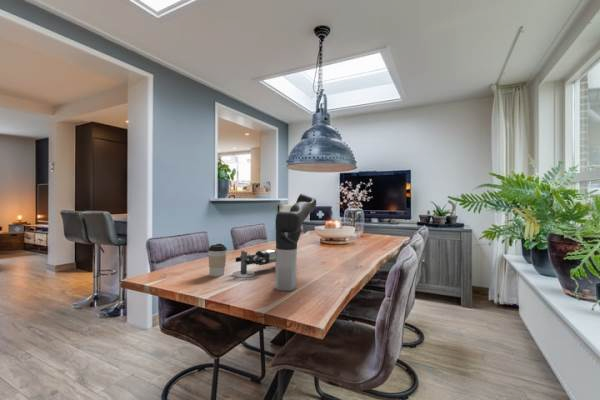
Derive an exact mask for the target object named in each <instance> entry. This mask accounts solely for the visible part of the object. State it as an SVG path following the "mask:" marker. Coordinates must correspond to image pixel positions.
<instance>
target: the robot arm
mask: <svg viewBox="0 0 600 400" xmlns="http://www.w3.org/2000/svg"><path fill="white" fill-rule="evenodd" d="M316 207H317V199H316V198H315V197H313V196H310V195H307V194H305V193H300V194H299V195H298V197H297V199H296V202H295V203H294V204H293V205H292V206H291V207H290V209H289V211H278V212H277V213H276V216H275V221H274V223H275V225H274V226H275V248H273V249H263V250H257V251H256V252H255V254H250V253H249V254H248V253H247V260H246V265H247V266H248V265H256V266H264V265H268V264H269V265H270V264H272V263H275V269H274V272H275V273H274V274H275V276H274V288H275V289H276V291H282V292H283V291H284V292H285V291H286V292H288V291H289V292H291V291H294V290H295V289H296V288H297V266H298V265H297V262H298V260H297V259H298V257H297V255H298V242H299V239H300V237H301V233H302V228H301V227H302V225H303V223H304V222H305V221H306V219H307V218H308V216H309V215H310V214H312V213H313V212H314V210H315V209H316ZM286 234H287V235H286ZM235 262H236V263H239V262H240V263H241V255H240V256H238V257H235Z"/></svg>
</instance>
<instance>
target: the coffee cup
mask: <svg viewBox="0 0 600 400" xmlns="http://www.w3.org/2000/svg"><path fill="white" fill-rule="evenodd" d="M227 250H228V248H227V247H226V245H224V244H222V243H216V244H211V245H210V246H209V247H208V249H207V251H208V254H207V255H208V267H209V276H210V277H215V278H216V277H223V276H224V275H225V267H226V260H227Z"/></svg>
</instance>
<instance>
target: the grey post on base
mask: <svg viewBox="0 0 600 400" xmlns="http://www.w3.org/2000/svg"><path fill="white" fill-rule="evenodd" d="M247 255H248V251H247V250H241V251H240V256H241V261H240V270H236V271H234V272H232V273H231V274H232V276H233V277H234V278H241V279H242V278H251V277H254V276H256V275H255V272H254V271H252V270H248V267H247V266H248V265H246V260H247Z"/></svg>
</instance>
